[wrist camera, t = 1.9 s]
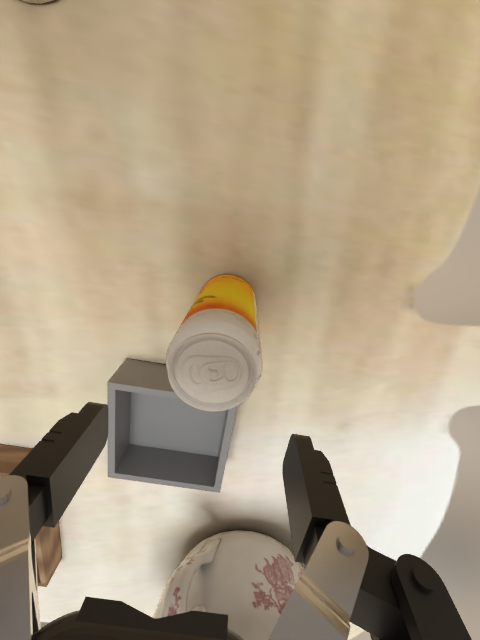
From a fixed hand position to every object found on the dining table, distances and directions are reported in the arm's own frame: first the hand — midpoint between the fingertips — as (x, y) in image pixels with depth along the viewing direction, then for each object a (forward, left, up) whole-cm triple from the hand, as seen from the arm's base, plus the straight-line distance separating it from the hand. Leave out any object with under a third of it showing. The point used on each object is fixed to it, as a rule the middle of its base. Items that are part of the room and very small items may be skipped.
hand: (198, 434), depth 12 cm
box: (+16, -4, -20) cm, 26 cm away
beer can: (0, 0, -20) cm, 20 cm away
